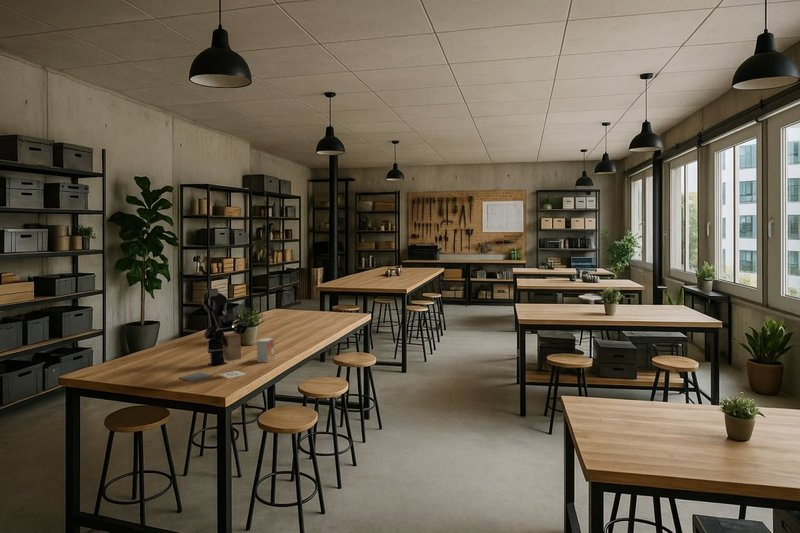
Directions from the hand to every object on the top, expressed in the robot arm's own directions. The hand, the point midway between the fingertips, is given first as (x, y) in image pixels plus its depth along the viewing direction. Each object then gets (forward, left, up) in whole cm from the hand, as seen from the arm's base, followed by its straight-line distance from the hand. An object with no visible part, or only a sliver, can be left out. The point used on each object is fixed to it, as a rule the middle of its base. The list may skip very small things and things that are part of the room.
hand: (233, 345), depth 230 cm
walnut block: (-1, 0, -6) cm, 7 cm away
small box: (-10, +26, -14) cm, 31 cm away
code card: (-1, 0, -13) cm, 14 cm away
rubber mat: (-11, -12, -13) cm, 21 cm away
